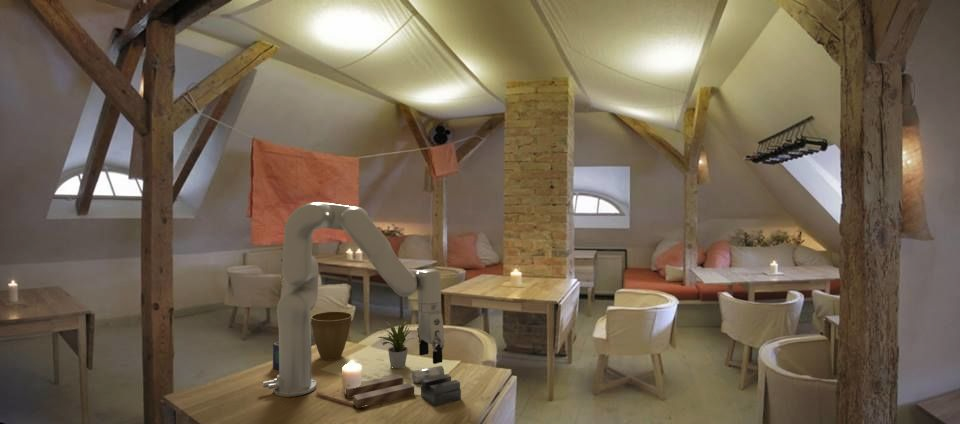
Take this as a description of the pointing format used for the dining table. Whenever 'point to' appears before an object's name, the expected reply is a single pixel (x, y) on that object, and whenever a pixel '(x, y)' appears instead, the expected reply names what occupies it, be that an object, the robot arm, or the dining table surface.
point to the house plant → (397, 346)
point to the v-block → (440, 390)
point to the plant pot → (331, 333)
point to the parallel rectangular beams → (380, 391)
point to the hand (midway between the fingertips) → (430, 358)
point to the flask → (276, 356)
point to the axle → (427, 373)
